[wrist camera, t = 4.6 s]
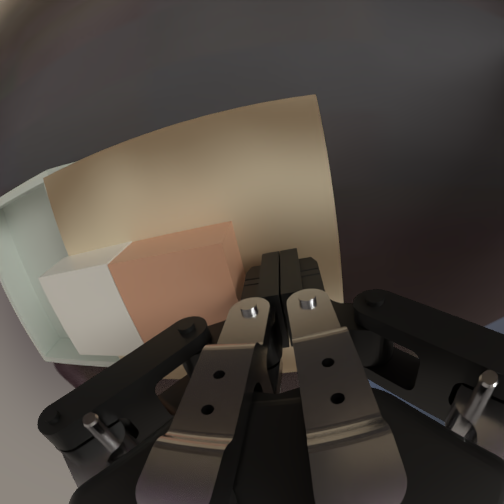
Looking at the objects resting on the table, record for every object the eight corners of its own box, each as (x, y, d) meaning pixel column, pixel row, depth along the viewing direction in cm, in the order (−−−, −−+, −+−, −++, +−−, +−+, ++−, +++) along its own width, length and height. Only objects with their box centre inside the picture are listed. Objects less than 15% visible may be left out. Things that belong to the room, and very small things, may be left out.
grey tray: (1, 201, 18) (-25, 214, 15) (79, 160, 17) (46, 170, 13) (61, 339, 24) (44, 361, 21) (146, 339, 22) (131, 368, 19)
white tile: (64, 257, 14) (37, 278, 12) (131, 241, 13) (106, 263, 11) (98, 329, 16) (79, 354, 14) (165, 324, 15) (150, 355, 13)
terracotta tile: (132, 241, 13) (107, 264, 11) (231, 220, 12) (221, 243, 10) (166, 325, 15) (151, 356, 13) (256, 315, 14) (252, 349, 12)
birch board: (91, 163, 17) (42, 178, 12) (303, 104, 15) (315, 94, 10) (154, 334, 22) (131, 377, 17) (333, 314, 20) (345, 364, 15)
